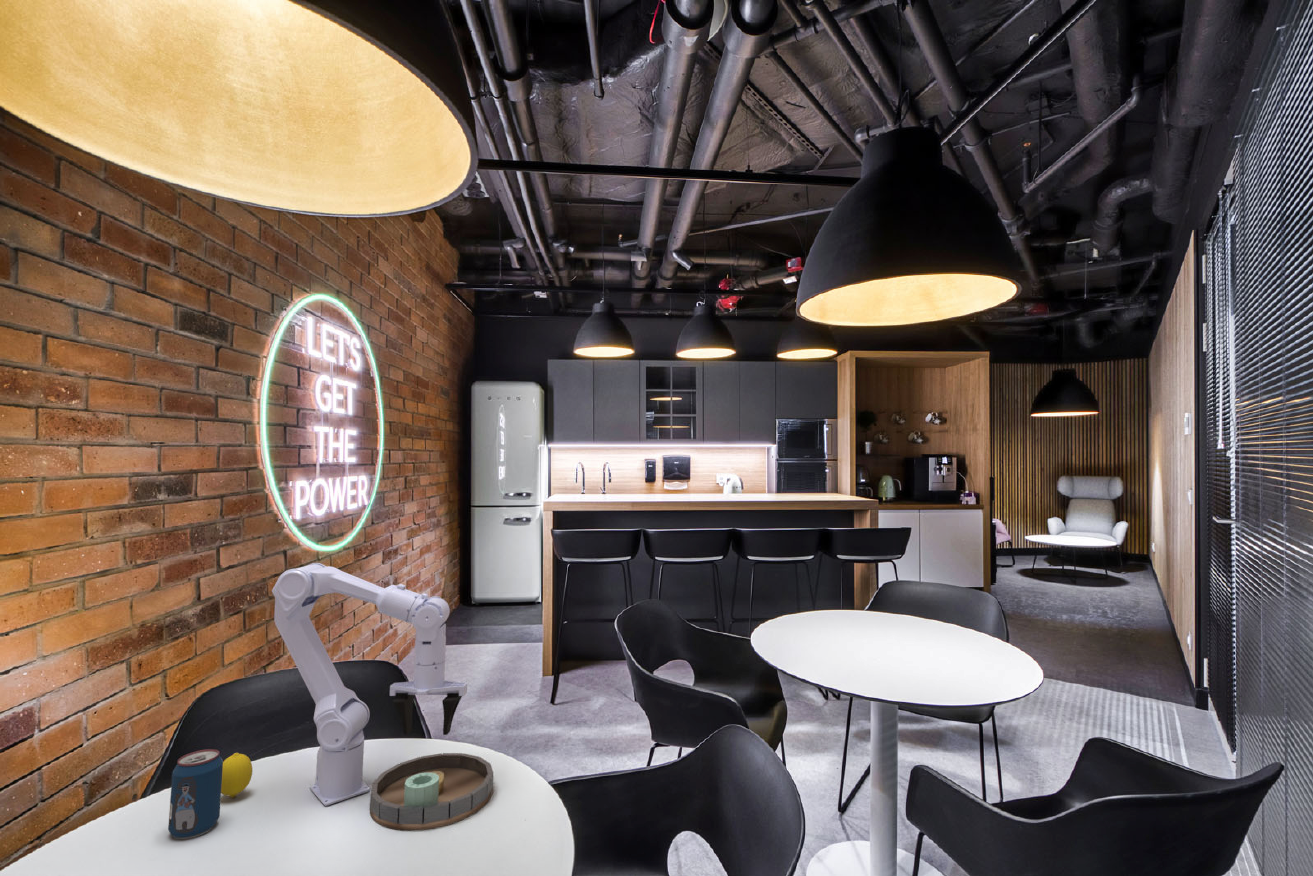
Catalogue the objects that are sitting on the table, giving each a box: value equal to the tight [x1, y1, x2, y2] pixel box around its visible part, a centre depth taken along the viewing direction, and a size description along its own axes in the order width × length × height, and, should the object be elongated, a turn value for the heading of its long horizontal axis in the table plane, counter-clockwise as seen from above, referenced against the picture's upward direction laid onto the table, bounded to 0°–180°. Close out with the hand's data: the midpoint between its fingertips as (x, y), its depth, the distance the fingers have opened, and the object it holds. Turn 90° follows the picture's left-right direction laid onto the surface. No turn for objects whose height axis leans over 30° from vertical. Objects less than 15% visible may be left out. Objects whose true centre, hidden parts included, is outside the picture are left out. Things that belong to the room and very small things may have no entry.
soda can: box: [167, 748, 224, 840], centre depth 102 cm, size 7×7×12 cm
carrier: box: [369, 752, 494, 832], centre depth 112 cm, size 22×22×4 cm
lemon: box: [221, 752, 253, 799], centre depth 112 cm, size 6×6×8 cm
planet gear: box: [404, 772, 439, 806], centre depth 107 cm, size 6×6×5 cm
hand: (427, 732), depth 117 cm, fingers open, 7 cm apart
